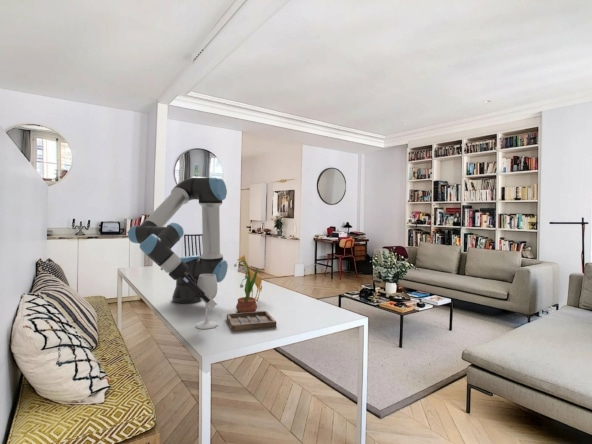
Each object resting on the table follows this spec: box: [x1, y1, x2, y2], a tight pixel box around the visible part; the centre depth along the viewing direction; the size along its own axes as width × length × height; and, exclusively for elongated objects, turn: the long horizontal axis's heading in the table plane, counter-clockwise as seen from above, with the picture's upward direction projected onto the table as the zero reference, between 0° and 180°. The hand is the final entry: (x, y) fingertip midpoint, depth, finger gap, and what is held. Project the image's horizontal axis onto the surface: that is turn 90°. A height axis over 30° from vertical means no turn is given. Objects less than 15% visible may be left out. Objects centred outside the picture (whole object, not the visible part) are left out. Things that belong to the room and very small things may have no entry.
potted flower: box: [233, 259, 259, 313], centre depth 160 cm, size 12×10×25 cm
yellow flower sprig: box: [237, 254, 263, 302], centre depth 178 cm, size 16×4×25 cm, turn 135°
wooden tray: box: [225, 310, 277, 333], centre depth 143 cm, size 16×18×2 cm
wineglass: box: [195, 274, 218, 330], centre depth 138 cm, size 9×9×21 cm
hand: (212, 302), depth 139 cm, fingers open, 13 cm apart
